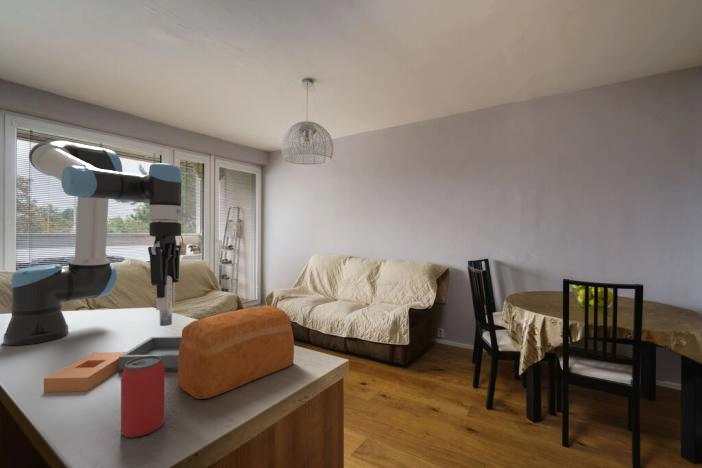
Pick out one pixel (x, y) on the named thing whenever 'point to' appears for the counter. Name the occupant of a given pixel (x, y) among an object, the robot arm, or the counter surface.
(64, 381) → the orange block with hole
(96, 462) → the counter surface
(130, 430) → the beer can
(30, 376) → the counter surface
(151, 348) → the tray
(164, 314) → the pin
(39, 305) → the robot arm
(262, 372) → the bread
